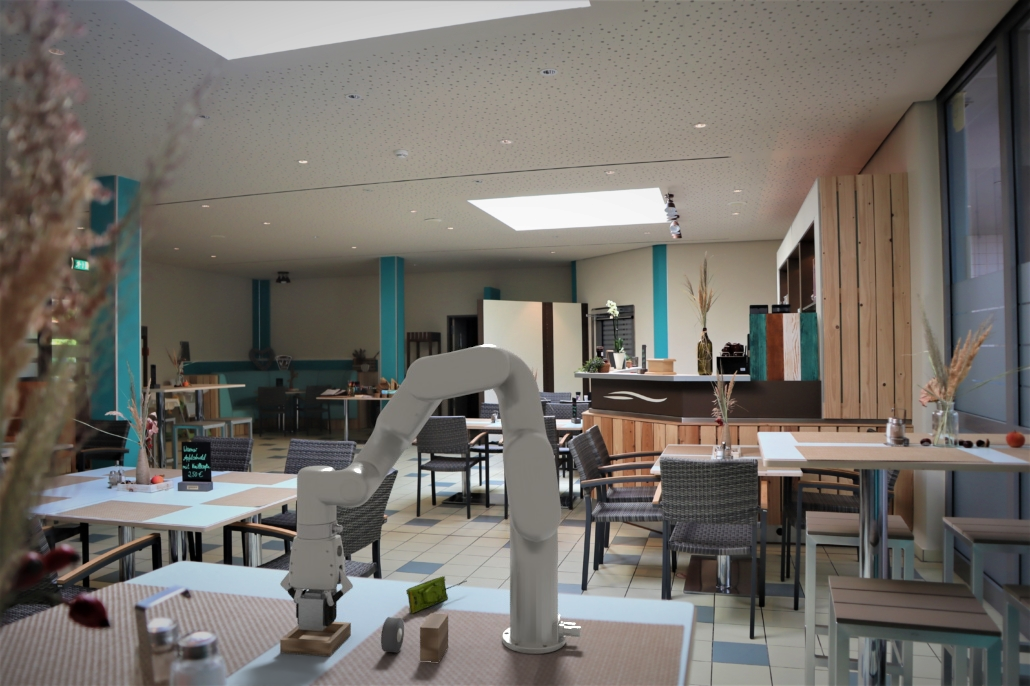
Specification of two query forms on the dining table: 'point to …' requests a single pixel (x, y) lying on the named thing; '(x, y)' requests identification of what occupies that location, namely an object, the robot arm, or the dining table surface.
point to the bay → (316, 640)
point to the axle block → (434, 637)
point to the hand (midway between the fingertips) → (316, 621)
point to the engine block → (312, 610)
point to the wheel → (392, 634)
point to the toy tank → (427, 594)
